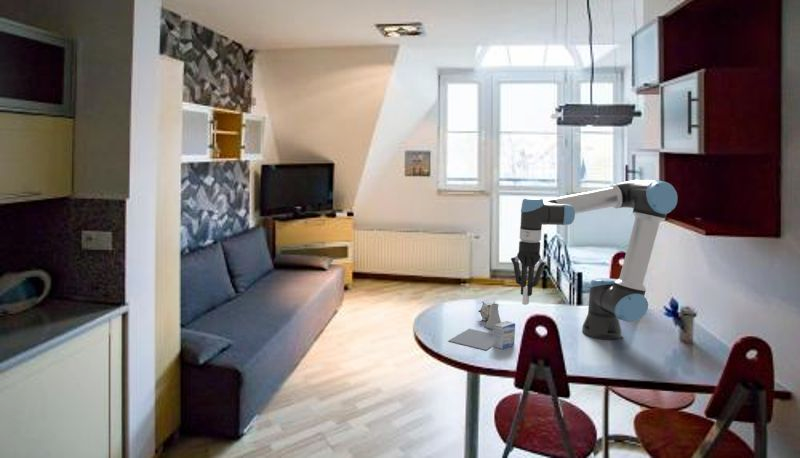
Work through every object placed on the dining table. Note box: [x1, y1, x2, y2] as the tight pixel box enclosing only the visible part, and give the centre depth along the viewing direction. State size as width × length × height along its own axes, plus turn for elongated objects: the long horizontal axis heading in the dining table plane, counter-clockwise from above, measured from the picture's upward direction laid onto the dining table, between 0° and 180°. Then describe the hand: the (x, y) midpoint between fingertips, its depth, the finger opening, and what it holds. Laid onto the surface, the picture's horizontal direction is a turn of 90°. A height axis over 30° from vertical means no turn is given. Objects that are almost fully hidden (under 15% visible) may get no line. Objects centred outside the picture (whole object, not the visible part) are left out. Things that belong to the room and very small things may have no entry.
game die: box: [477, 301, 496, 322], centre depth 237 cm, size 9×8×10 cm
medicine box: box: [492, 320, 516, 350], centre depth 207 cm, size 8×4×9 cm, turn 132°
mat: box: [448, 328, 494, 351], centre depth 213 cm, size 16×18×1 cm
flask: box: [485, 302, 502, 330], centre depth 228 cm, size 7×7×10 cm
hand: (525, 303), depth 200 cm, fingers closed
